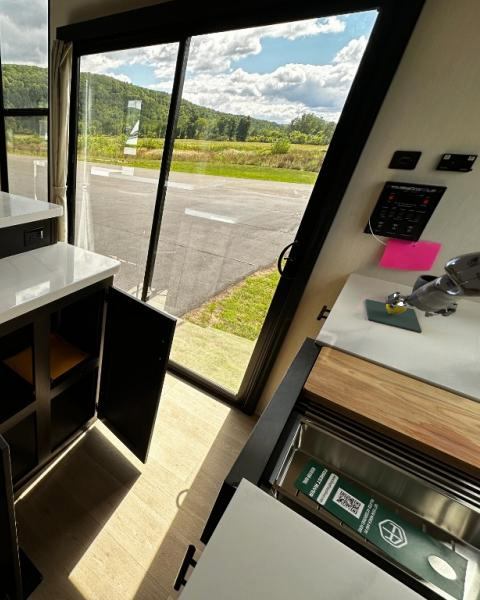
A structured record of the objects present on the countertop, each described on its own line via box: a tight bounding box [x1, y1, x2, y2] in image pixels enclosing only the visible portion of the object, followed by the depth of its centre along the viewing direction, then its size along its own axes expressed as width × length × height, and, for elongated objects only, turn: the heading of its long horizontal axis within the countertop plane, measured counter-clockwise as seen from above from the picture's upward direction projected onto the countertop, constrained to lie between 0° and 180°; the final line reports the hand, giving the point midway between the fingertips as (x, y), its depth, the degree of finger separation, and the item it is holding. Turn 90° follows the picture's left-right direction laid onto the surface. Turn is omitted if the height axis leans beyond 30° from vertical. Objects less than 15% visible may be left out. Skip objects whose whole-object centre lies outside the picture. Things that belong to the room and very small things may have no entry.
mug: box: [411, 274, 439, 294], centre depth 118 cm, size 8×12×10 cm
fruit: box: [386, 301, 407, 314], centre depth 113 cm, size 6×6×8 cm
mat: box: [365, 298, 423, 334], centre depth 115 cm, size 14×16×1 cm
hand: (408, 310), depth 102 cm, fingers open, 8 cm apart
